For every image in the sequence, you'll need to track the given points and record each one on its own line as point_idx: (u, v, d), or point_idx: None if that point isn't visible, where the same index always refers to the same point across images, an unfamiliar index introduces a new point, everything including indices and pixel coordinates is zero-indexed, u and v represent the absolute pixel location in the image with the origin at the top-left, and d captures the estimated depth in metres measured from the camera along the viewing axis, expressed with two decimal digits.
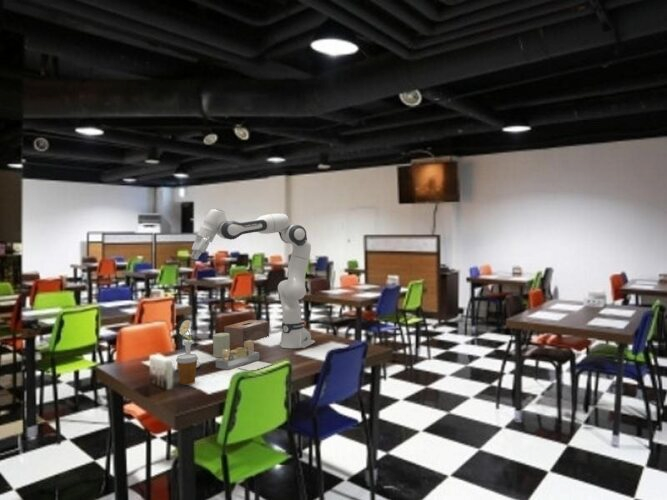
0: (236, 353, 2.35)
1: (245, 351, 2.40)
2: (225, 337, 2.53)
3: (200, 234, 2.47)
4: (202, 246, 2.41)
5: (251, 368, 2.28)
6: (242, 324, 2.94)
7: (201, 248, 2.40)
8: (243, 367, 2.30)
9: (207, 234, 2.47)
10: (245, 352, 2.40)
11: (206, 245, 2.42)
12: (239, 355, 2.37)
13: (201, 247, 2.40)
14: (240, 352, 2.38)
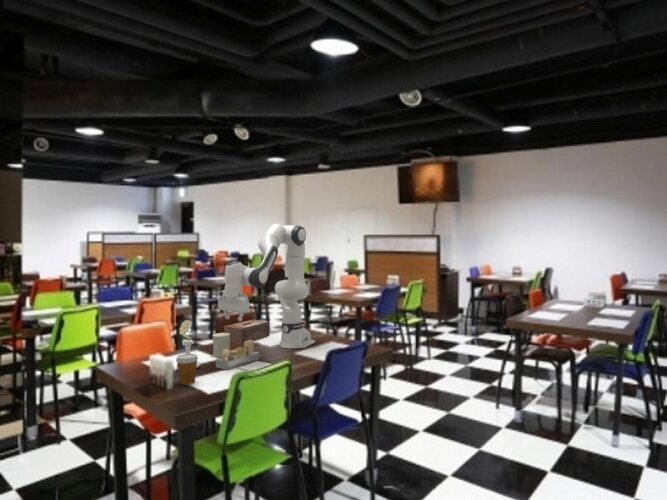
0: (236, 353, 2.35)
1: (245, 351, 2.40)
2: (225, 337, 2.53)
3: (232, 295, 2.34)
4: (246, 307, 2.32)
5: (251, 368, 2.28)
6: (242, 324, 2.94)
7: (246, 310, 2.32)
8: (243, 367, 2.30)
9: (239, 292, 2.36)
10: (245, 352, 2.40)
11: (248, 304, 2.34)
12: (239, 355, 2.37)
13: (245, 309, 2.32)
14: (240, 352, 2.38)
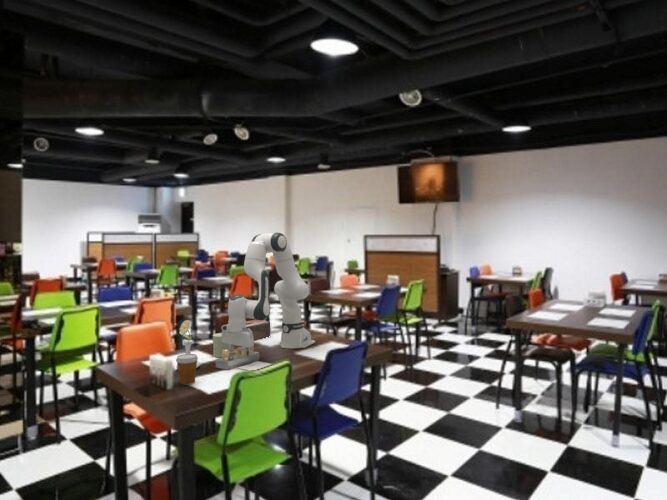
0: (236, 353, 2.35)
1: (245, 351, 2.40)
2: None
3: (236, 330, 2.35)
4: (250, 342, 2.33)
5: (251, 368, 2.28)
6: None
7: (250, 344, 2.33)
8: (243, 367, 2.30)
9: (242, 326, 2.36)
10: (245, 352, 2.40)
11: (252, 338, 2.34)
12: (239, 355, 2.37)
13: (250, 343, 2.33)
14: None
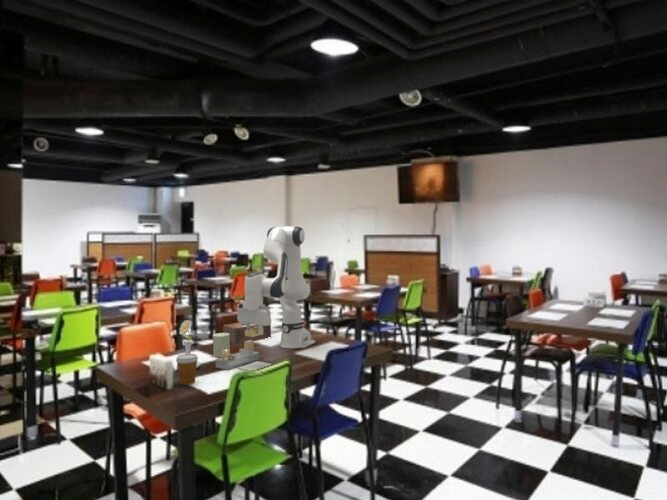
0: (253, 332, 2.28)
1: (262, 330, 2.33)
2: (225, 337, 2.53)
3: (253, 308, 2.28)
4: (267, 320, 2.26)
5: (251, 368, 2.28)
6: (242, 324, 2.95)
7: (268, 322, 2.26)
8: (243, 367, 2.30)
9: (259, 304, 2.29)
10: (262, 331, 2.33)
11: (269, 317, 2.27)
12: (256, 334, 2.30)
13: (267, 322, 2.26)
14: None
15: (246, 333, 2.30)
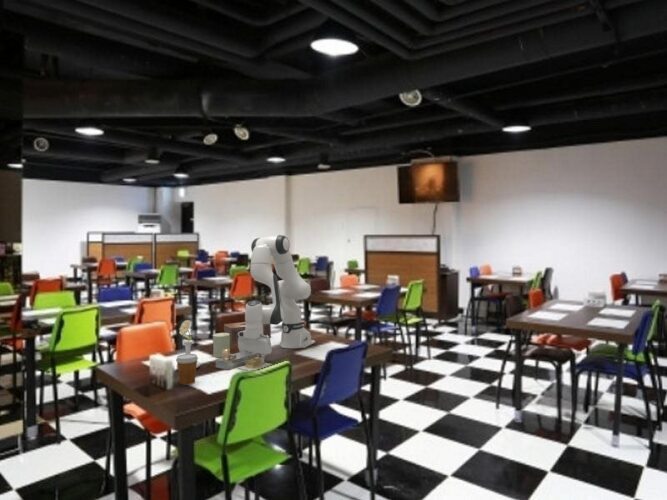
0: (253, 363, 2.29)
1: None
2: (225, 337, 2.53)
3: (254, 337, 2.28)
4: (268, 349, 2.26)
5: (251, 368, 2.28)
6: (242, 324, 2.95)
7: (268, 351, 2.26)
8: (243, 367, 2.30)
9: (260, 333, 2.30)
10: None
11: (270, 345, 2.28)
12: (256, 365, 2.30)
13: (268, 350, 2.26)
14: (257, 362, 2.31)
15: (247, 364, 2.30)
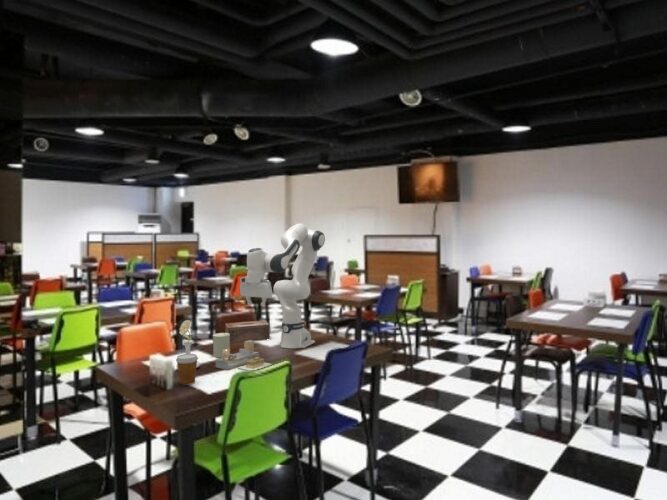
0: (253, 363, 2.29)
1: (262, 361, 2.34)
2: (225, 337, 2.53)
3: (255, 281, 2.40)
4: (269, 292, 2.38)
5: (251, 368, 2.28)
6: (242, 323, 2.96)
7: (269, 295, 2.38)
8: (243, 367, 2.30)
9: (261, 278, 2.41)
10: (262, 362, 2.34)
11: (270, 289, 2.39)
12: (256, 365, 2.30)
13: (268, 294, 2.38)
14: (257, 362, 2.31)
15: (247, 364, 2.30)
